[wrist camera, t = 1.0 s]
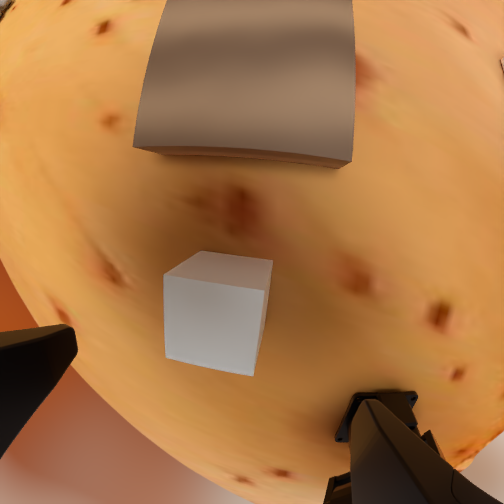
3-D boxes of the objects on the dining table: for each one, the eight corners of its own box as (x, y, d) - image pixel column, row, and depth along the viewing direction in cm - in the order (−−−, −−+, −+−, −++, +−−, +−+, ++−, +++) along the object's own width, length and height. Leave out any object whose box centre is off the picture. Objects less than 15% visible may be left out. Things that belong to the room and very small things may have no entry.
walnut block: (338, 168, 16) (351, 161, 12) (162, 154, 18) (132, 146, 14) (343, 22, 14) (351, -8, 10) (188, 19, 15) (169, -7, 11)
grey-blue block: (264, 326, 19) (253, 376, 14) (198, 315, 20) (165, 357, 14) (273, 259, 18) (264, 290, 12) (201, 250, 19) (163, 274, 13)
